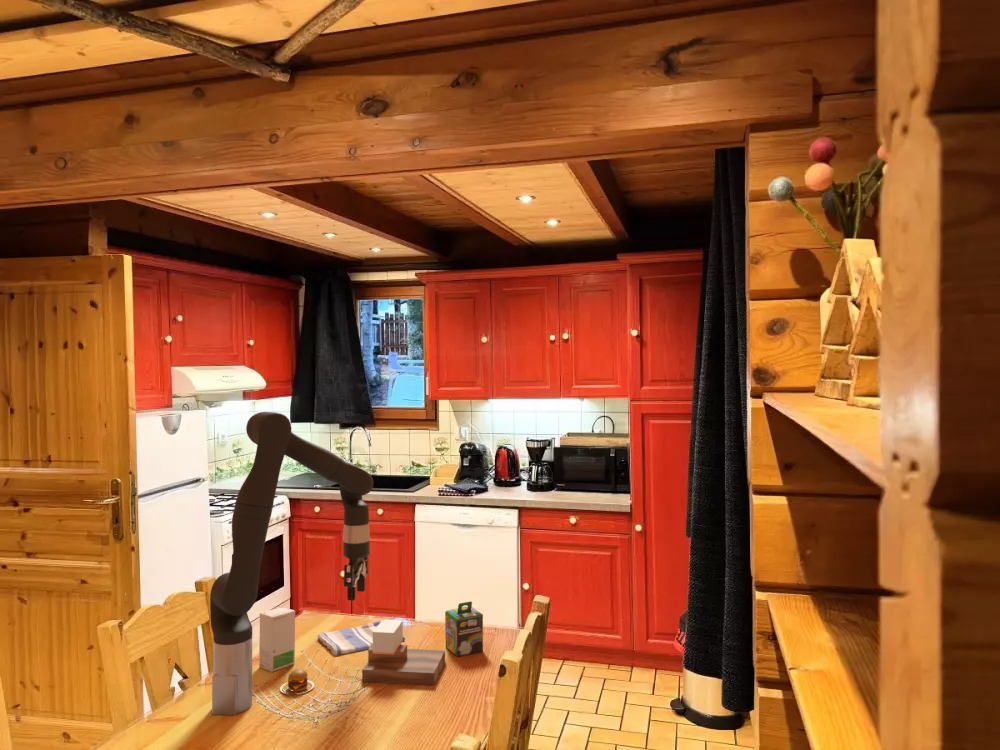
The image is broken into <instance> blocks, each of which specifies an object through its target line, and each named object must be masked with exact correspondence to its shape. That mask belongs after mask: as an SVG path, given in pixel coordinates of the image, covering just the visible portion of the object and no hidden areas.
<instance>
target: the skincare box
mask: <svg viewBox="0 0 1000 750" xmlns="http://www.w3.org/2000/svg"><path fill="white" fill-rule="evenodd" d="M258 646H259V651H258V652H259V653H258V654H259V655H258V658H259V660H258V665H259V666H258V667H259V668H260V669H262V670H266V671H269V672H270V673H272V672H276V671H279V670H281V669H284V668H287V667H290V666H292V664H293V665H295V664H296V663H295V661H296V659H295V658H296V652H295V651H296V610H294V609H290V608H287V607H278V608H273V609H270V610H265V611H262V612H259V645H258ZM289 665H290V666H289Z"/></svg>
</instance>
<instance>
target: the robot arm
mask: <svg viewBox="0 0 1000 750" xmlns="http://www.w3.org/2000/svg"><path fill="white" fill-rule="evenodd" d="M245 430H246V435H247V437H248V438H249V440H250V441H251V442H252V443H254V444H256V451H255V456H254V461H253V464H252V467H251V469H250V471H249V472H248V475H247V477H246V478H245V480H244V481H243V483H242V485H241V487H240V489H239V490H238V494H237V496H236V499H235V503H234V507H233V513H232V519H231V538H232V550H233V551H232V561H231V565H230V570H229V572H226V573H223V574H221V575H220V576H218V577H217V578H216V579H215V580H214V582H213V583H212V586H211V589H210V592H209V593H210V594H209V599H210V600H209V609H210V610H209V611H210V612H209V613H210V627H211V631H212V636H213V639H212V640H213V649H212V650H213V652H212V653H213V655H212V656H213V659H212V660H213V662H212V663H213V664H212V666H213V667H212V671H213V672H212V673H213V675H212V677H211V679H212V681H211V684H212V685H211V687H212V689H211V692H212V693H211V697H212V698H211V714H212V715H222V716H224V715H225V716H236V715H238V714H240V713H243V712H245V711H247V710H249V709H250V708H251V707H252V705H253V624H252V623H251V620H250V618H249V615H248V612H249V611H250V610H251V609H252V607H254V605H255V603H256V600H257V597H258V593H259V592H258V591H259V582H260V572H261V564H262V558H263V553H264V548H265V544H266V539H267V534H268V529H269V525H270V521H271V518H272V513H273V507H274V501H275V497H276V492H277V487H278V483H279V477H280V473H281V468H282V465H283V461H284V458H285V457H288V458H290V459H292V460H293V461H295V462H297V463H299V464H301V465H302V466H304V467H305V468H307V469H308V470H310V471H311V472H313V473H315V474H317V475H318V476H320V477H322V478H323V479H326V480H328V481H329V482H332V483H335V484H338V485H339V492H340V498H341V502H342V507H343V511H344V512H343V530H342V539H343V540H342V546H343V547H342V555H343V557H344V558H347V559H348V564H344V568H343V586H344V587H345V588H347V589H346V592H347V594H346V595H347V596H346V597H347V601H355V600H356V598H357V597H356V596H357V595H356V591H358V592H365V590H366V578H367V575H368V574H369V556H370V552H371V548H370V546H371V544H370V543H371V538H370V537H371V536H370V535H371V532H370V523H369V522H370V518H369V515H370V510H369V509H370V508H369V506H368V504H367V503H366V502H365V501H364V500H363V496H366V495H368V494H369V493H370V492H371V491H372V489H373V488H374V479H373V477H372V475H371V474H370V473H369V472H367V471H366V470H364V469H362V468H361V467H358V466H356V465H354V464H352V463H349V462H347V461H345V460H344V459H343V458H341V456H340V457H339V455H337V454H335V453H333V452H332V451H330V450H328V449H326V448H324V447H322V446H320V445H318V444H315V443H314V442H311V441H310V440H308V439H305V438H302V437H301V436H299V435H297V434H295V433H294V432H293V431H292V424H291V421H290V419H289V418H288V416H287V415H285V414H283V413H281V412H276V411H275V412H273V411H260V412H258V413H254V414H253V415H252V416H251V417H250V418H249V419H248V421H247V423H246V427H245Z"/></svg>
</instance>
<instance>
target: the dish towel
mask: <svg viewBox="0 0 1000 750" xmlns="http://www.w3.org/2000/svg"><path fill="white" fill-rule="evenodd" d="M381 621H382V620H378V621H375V622H369V623H364V624H361V625H360V626H359V625H358V626H355V627H348V628H343V629H342V628H341V629H338V630H335V631H334V630H333V631H330V632H329V631H328V632H323V631H322V632H320V633H318V634H317V635H316V636H317V639H319V641H320V642H321V643H322V644H323V645H324V647H326V646H327V647H326V648H327V649H328V650H329V649H330V650H331V651H330V650H329V651H330V652H331V653H332V654H333V656H334V657H336V656H337V657H338V656H342V655H346V654H351V653H357V652H358V653H359V652H363V651H368V650H369V648H370V647H371V646H372V645H373V631H374V630H375V629H376V627H377V626H378V625H379V624H380V622H381ZM405 640H406V637H404V636H403V641H402V642H404V641H405Z"/></svg>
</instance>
